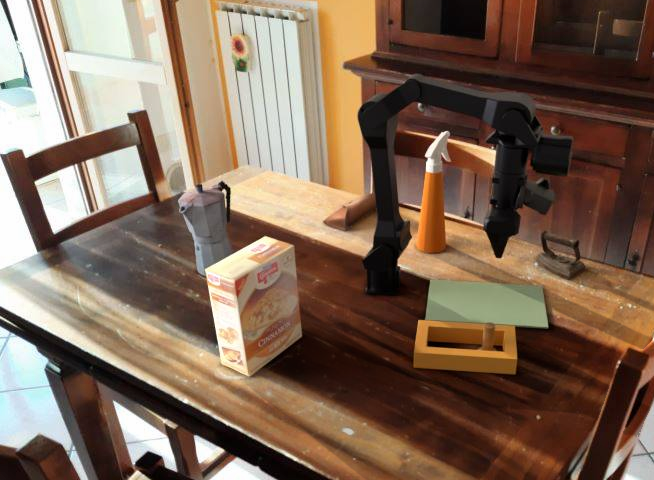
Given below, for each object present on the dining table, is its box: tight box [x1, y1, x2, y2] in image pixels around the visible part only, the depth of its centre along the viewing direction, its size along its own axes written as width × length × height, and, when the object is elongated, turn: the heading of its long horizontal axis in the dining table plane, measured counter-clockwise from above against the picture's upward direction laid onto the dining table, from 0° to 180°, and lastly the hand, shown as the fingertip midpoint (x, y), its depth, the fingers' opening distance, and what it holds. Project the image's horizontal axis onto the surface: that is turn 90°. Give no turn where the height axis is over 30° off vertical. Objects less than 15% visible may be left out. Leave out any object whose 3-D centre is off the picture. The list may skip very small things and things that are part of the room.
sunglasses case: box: [322, 192, 376, 231], centre depth 169 cm, size 18×7×7 cm
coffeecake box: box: [205, 235, 303, 377], centre depth 115 cm, size 15×7×20 cm, turn 148°
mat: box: [424, 279, 549, 330], centre depth 134 cm, size 24×16×1 cm, turn 84°
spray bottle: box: [416, 130, 452, 254], centre depth 150 cm, size 7×11×26 cm, turn 148°
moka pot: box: [177, 180, 235, 277], centre depth 141 cm, size 10×15×20 cm, turn 158°
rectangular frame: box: [413, 319, 518, 375], centre depth 119 cm, size 18×10×3 cm, turn 84°
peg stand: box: [476, 322, 498, 351], centre depth 118 cm, size 4×4×7 cm
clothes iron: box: [535, 230, 587, 280], centre depth 146 cm, size 7×11×10 cm, turn 47°
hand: (500, 246), depth 126 cm, fingers open, 9 cm apart
